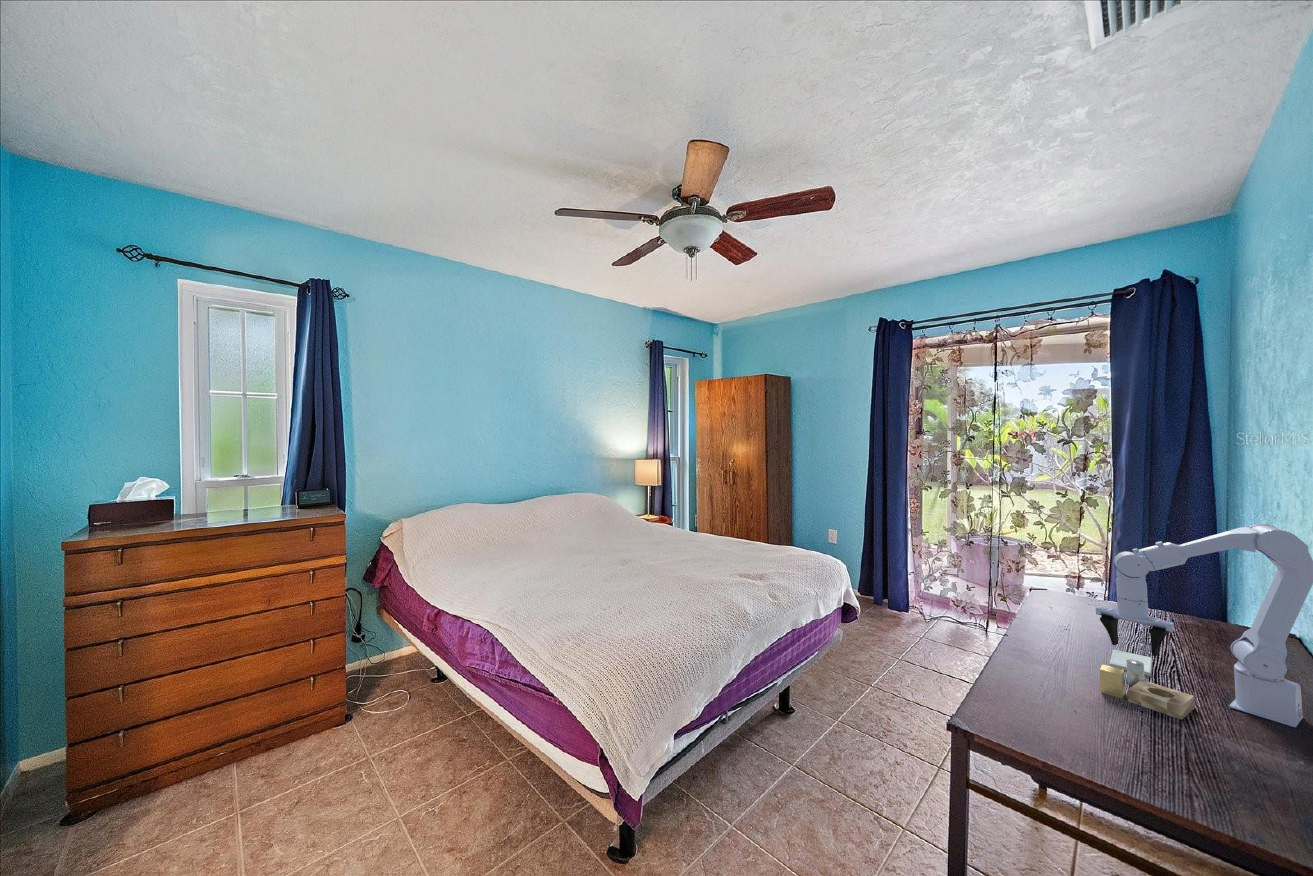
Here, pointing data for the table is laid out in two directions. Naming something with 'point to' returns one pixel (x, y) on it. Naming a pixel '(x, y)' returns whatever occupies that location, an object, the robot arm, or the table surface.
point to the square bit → (1112, 681)
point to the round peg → (1134, 671)
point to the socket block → (1161, 699)
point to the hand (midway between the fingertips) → (1134, 649)
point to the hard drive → (1120, 659)
